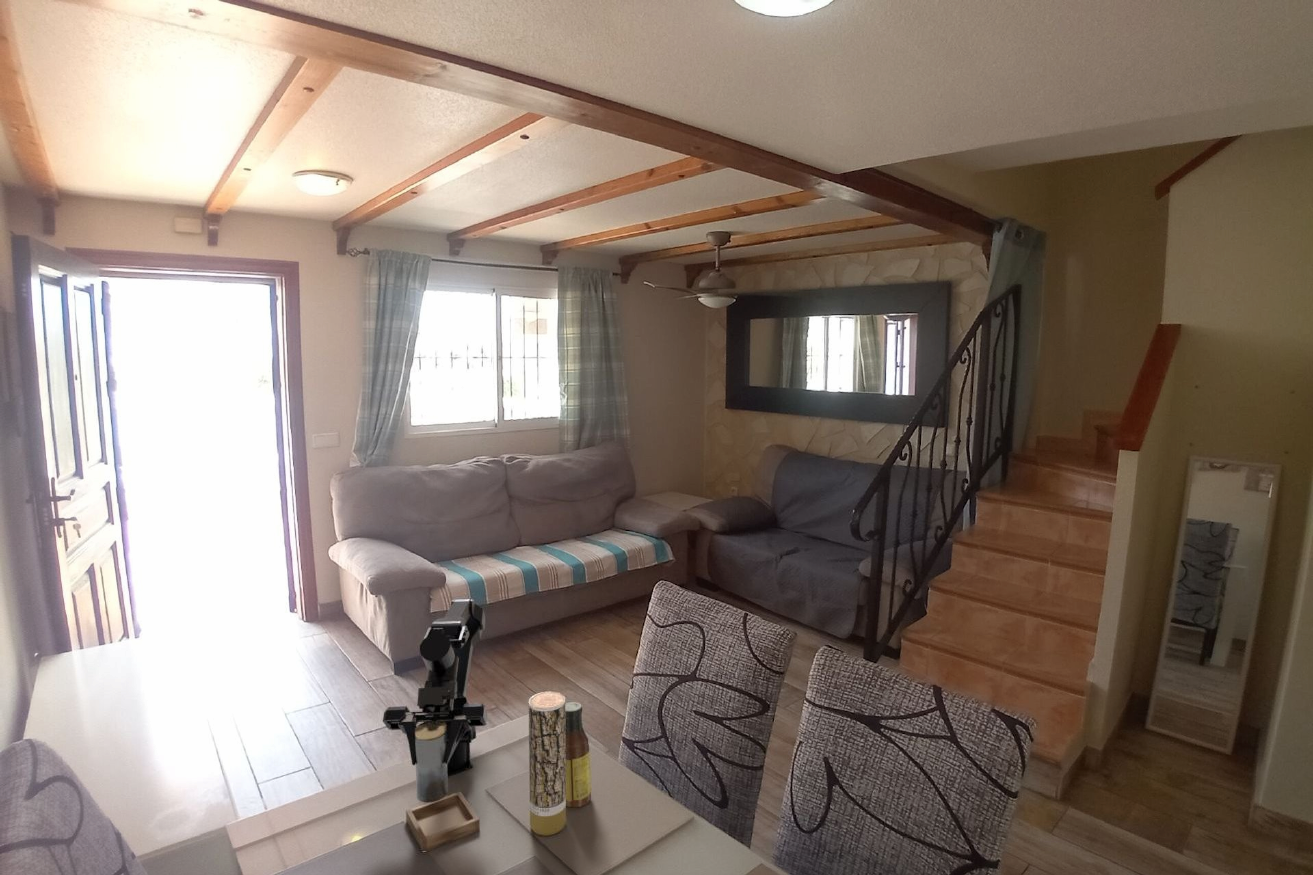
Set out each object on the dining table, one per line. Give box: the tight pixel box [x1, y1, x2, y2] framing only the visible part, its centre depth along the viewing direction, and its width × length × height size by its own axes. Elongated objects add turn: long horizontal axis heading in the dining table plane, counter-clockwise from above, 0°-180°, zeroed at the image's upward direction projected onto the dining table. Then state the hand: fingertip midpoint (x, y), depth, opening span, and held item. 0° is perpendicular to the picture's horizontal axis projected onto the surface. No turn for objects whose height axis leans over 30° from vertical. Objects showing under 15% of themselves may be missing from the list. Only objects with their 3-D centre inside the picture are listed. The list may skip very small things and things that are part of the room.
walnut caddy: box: [405, 791, 481, 852], centre depth 128 cm, size 11×11×2 cm
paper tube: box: [528, 691, 567, 836], centre depth 127 cm, size 7×7×25 cm
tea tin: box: [415, 720, 449, 803], centre depth 127 cm, size 6×6×13 cm
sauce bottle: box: [565, 701, 592, 809], centre depth 135 cm, size 7×6×20 cm
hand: (430, 763), depth 125 cm, fingers closed on tea tin, 6 cm apart
